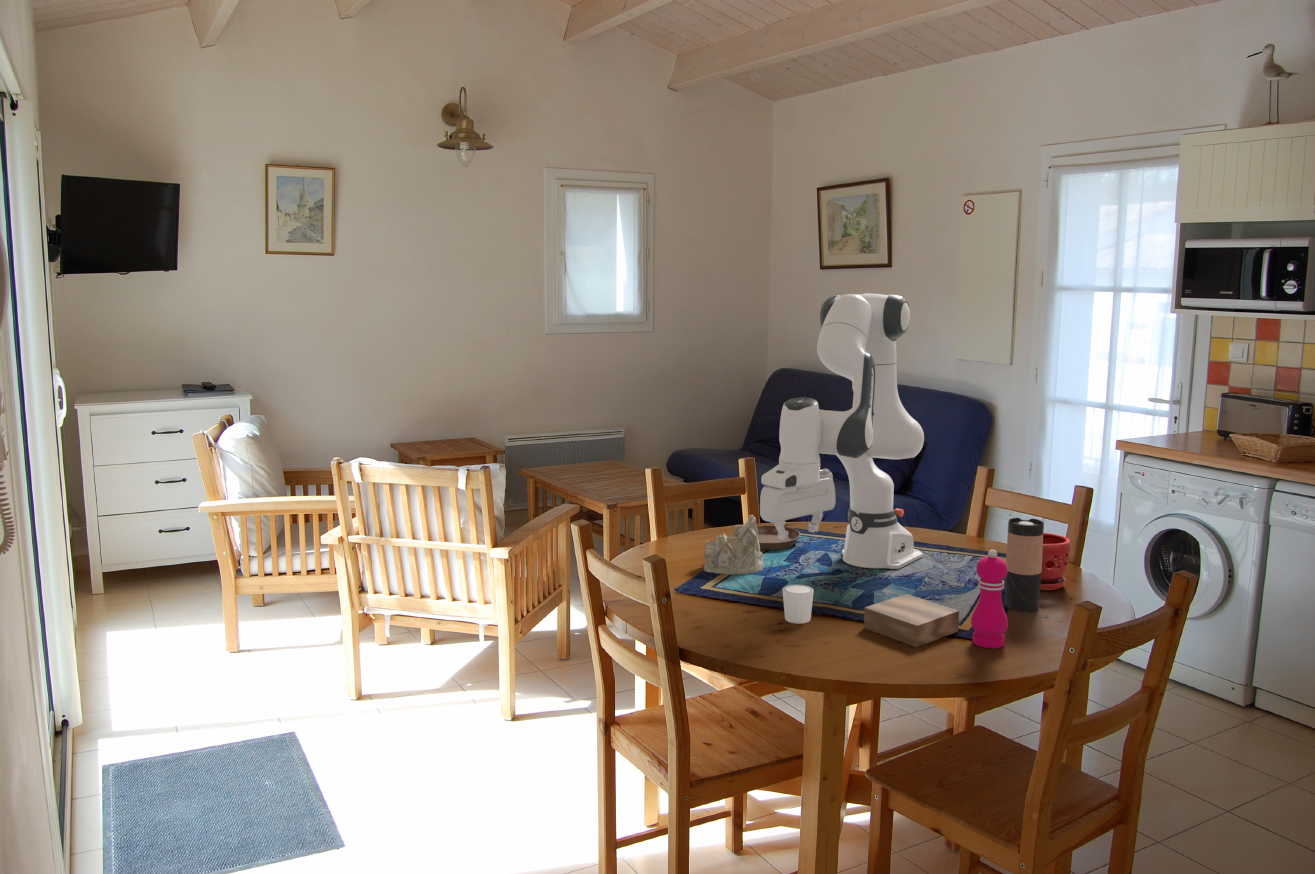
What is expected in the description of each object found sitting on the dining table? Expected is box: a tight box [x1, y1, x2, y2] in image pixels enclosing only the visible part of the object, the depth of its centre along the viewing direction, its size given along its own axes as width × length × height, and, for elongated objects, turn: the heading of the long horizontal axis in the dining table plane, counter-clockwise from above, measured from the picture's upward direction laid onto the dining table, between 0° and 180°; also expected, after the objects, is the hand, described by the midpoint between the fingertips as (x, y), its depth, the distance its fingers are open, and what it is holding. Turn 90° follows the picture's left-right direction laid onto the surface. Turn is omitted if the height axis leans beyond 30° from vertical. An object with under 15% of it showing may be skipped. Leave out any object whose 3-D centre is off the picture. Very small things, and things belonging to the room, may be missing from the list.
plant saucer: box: [757, 525, 801, 551], centre depth 277 cm, size 18×18×3 cm
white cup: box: [782, 584, 815, 625], centre depth 217 cm, size 7×7×7 cm
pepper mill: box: [970, 549, 1009, 649], centre depth 200 cm, size 7×7×20 cm
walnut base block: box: [863, 593, 960, 648], centre depth 210 cm, size 14×14×5 cm
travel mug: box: [1004, 517, 1045, 613], centre depth 222 cm, size 8×8×20 cm
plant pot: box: [1040, 532, 1071, 591], centre depth 237 cm, size 13×13×12 cm
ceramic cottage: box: [703, 514, 765, 576], centre depth 256 cm, size 16×16×15 cm
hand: (798, 535), depth 214 cm, fingers open, 8 cm apart
